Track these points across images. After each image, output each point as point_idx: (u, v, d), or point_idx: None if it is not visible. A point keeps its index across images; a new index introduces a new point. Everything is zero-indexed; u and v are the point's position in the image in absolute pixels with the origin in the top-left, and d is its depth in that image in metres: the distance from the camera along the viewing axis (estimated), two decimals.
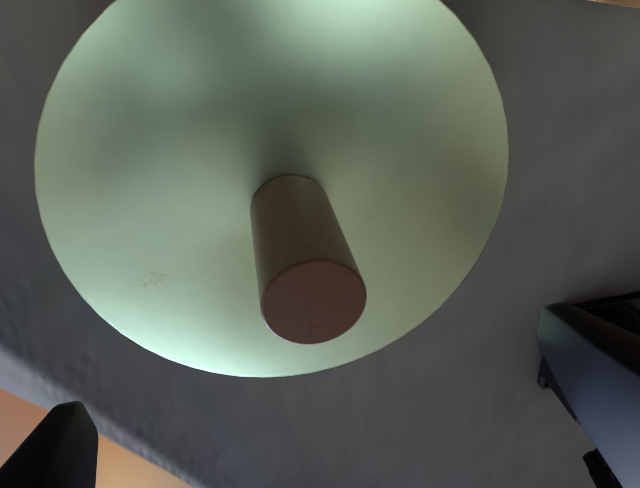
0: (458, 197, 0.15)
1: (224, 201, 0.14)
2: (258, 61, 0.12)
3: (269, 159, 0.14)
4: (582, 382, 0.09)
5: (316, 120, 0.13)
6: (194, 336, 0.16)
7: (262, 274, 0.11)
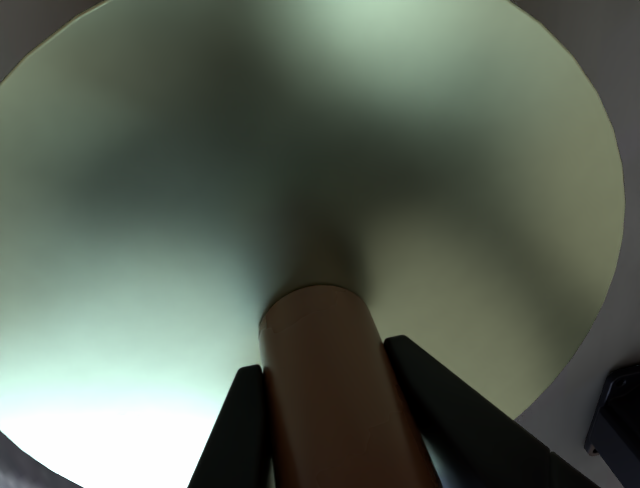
0: (547, 299, 0.11)
1: (221, 322, 0.10)
2: (271, 133, 0.08)
3: (287, 266, 0.09)
4: None
5: (357, 212, 0.09)
6: (182, 482, 0.12)
7: None
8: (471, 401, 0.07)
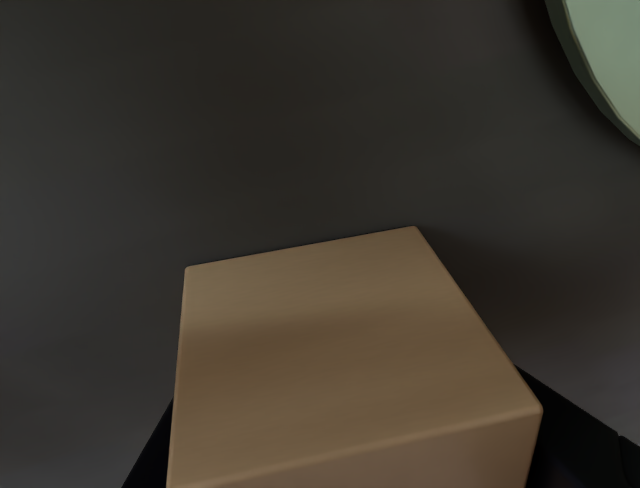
0: None
1: None
2: None
3: None
4: None
5: None
6: None
7: None
8: (532, 388, 0.07)
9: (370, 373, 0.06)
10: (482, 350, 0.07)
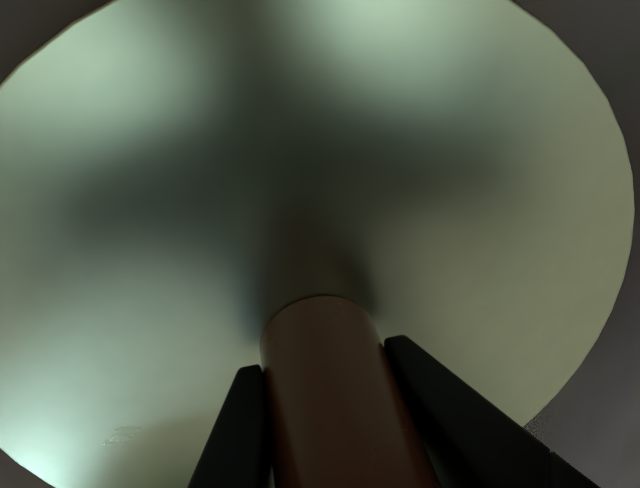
0: (554, 309, 0.11)
1: (221, 334, 0.10)
2: (273, 141, 0.08)
3: (289, 277, 0.09)
4: None
5: (361, 221, 0.09)
6: None
7: None
8: (471, 401, 0.07)
9: None
10: None
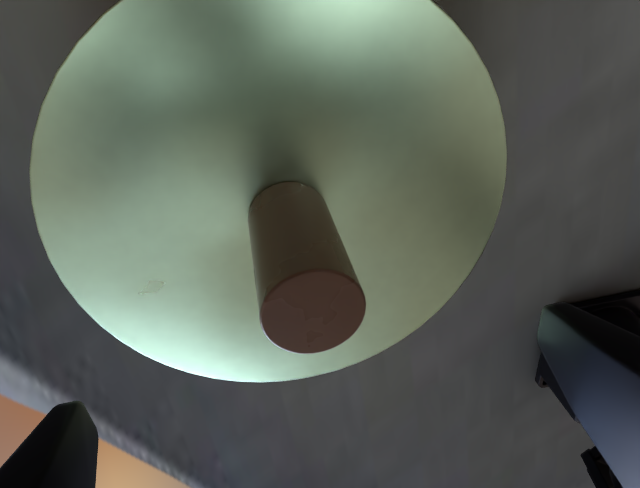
0: (456, 201, 0.15)
1: (222, 208, 0.14)
2: (254, 68, 0.12)
3: (266, 166, 0.14)
4: (582, 382, 0.09)
5: (313, 127, 0.13)
6: (193, 342, 0.16)
7: (261, 284, 0.11)
8: None
9: None
10: None
